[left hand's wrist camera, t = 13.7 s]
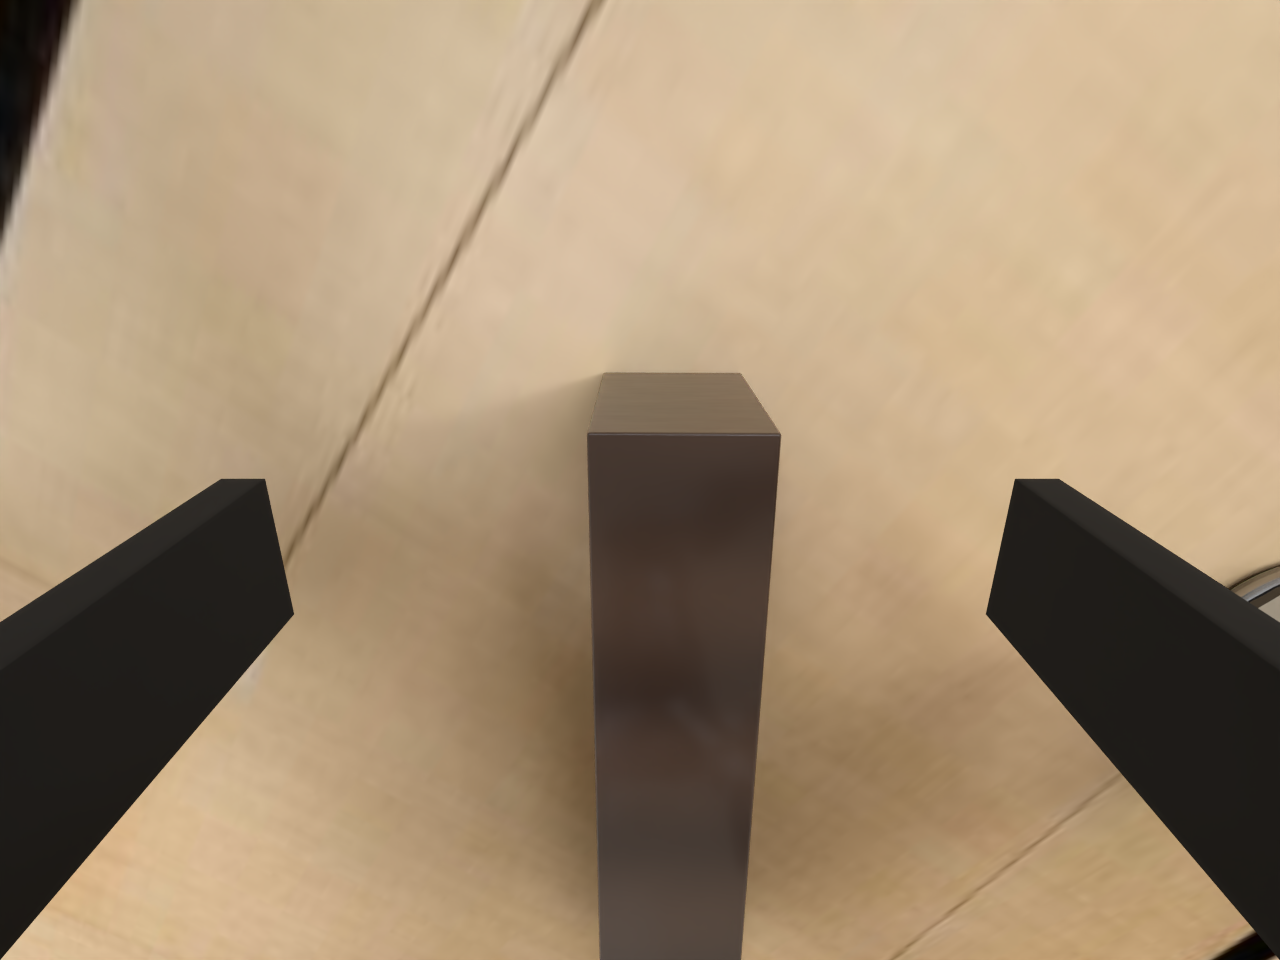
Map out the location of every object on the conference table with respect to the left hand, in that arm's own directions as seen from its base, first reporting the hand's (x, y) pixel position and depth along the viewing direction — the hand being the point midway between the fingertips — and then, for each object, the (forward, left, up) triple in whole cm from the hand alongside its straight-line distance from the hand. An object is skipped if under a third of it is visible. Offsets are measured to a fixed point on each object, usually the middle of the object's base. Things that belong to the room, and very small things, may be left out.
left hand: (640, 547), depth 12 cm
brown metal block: (+13, -4, -14) cm, 19 cm away
